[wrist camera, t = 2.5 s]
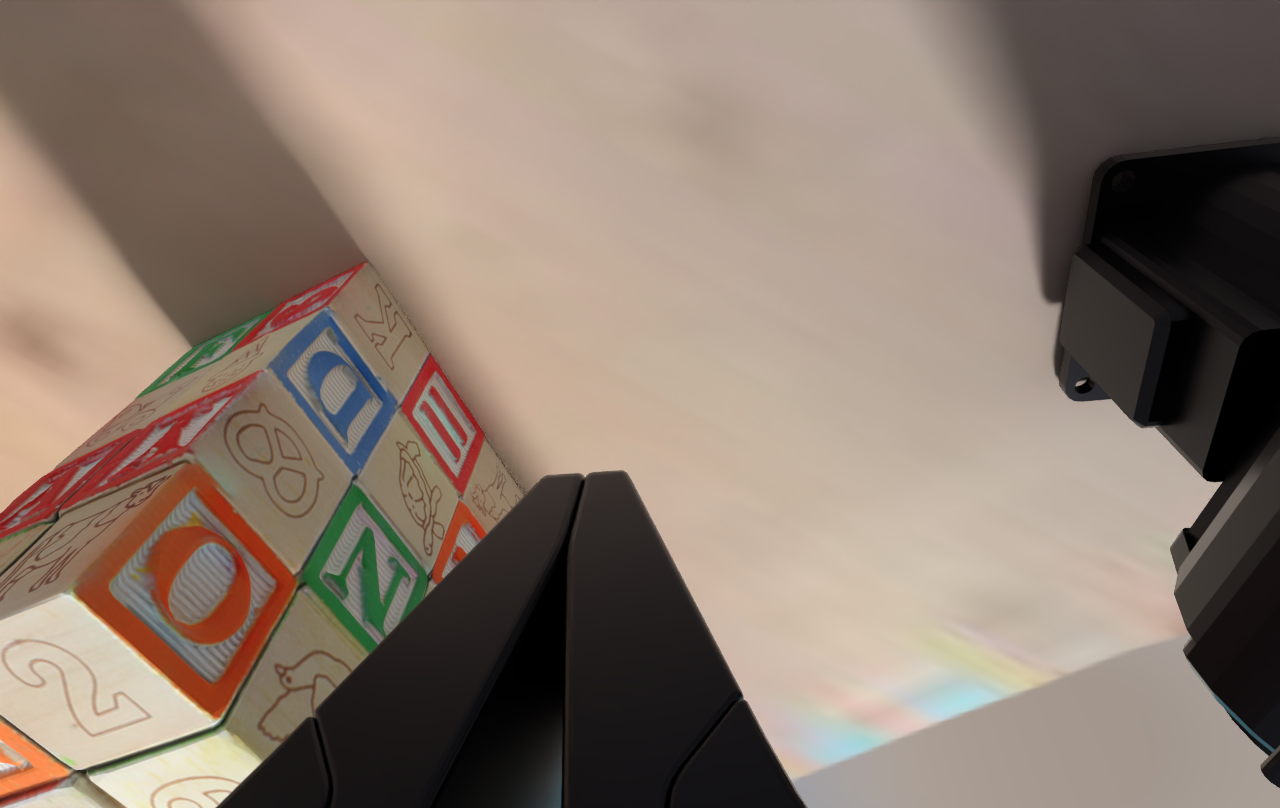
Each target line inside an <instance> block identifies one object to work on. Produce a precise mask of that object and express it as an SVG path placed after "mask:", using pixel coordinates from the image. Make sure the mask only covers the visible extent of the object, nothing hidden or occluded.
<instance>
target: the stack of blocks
mask: <svg viewBox="0 0 1280 808" xmlns="http://www.w3.org/2000/svg"><path fill="white" fill-rule="evenodd" d="M523 497H524V495H523V493H522V492H521V490H520V489H519V487H518V486H517V485H516V483H515V482H514V480H513V479H512V477H511V476H510V474H509V473H508V471H507V470H506V469H505V467H504V466H503V464H502V463H501V461H500V460H499V458H498V457H497V455H496V454H495V452H494V451H493V450H492V448H491V447H490V445H489V444H488V443H487V441H486V440H485V436H484V433H483V431H482V430H481V428H480V427H479V425H478V424H477V422H476V420H475V419H474V417H473V416H472V414H471V413H470V411H469V410H468V409H467V407H466V406H465V404H464V403H463V401H462V400H461V398H460V397H459V395H458V394H457V392H456V391H455V389H454V388H453V386H452V385H451V383H450V382H449V380H448V379H447V378H446V376H445V375H444V373H443V372H442V370H441V369H440V367H439V366H438V364H437V363H436V361H435V360H434V358H433V357H432V355H431V354H430V353H429V352H428V349H427V347H426V345H425V344H424V342H423V341H422V339H421V338H420V336H419V335H418V333H417V332H416V330H415V329H414V327H413V326H412V324H411V323H410V321H409V320H408V318H407V317H406V315H405V314H404V312H403V311H402V309H401V308H400V306H399V305H398V303H397V302H396V300H395V299H394V297H393V296H392V294H391V293H390V291H389V290H388V289H387V287H386V286H385V284H384V283H383V281H382V280H381V278H380V277H379V275H378V274H377V272H376V271H375V269H374V268H373V267H372V266H371V265H370V264H369V263H368V262H365V263H362V264H360V265H358V266H356V267H354V268H352V269H350V270H348V271H346V272H344V273H342V274H339V275H337V276H335V277H333V278H331V279H329V280H327V281H325V282H323V283H321V284H319V285H317V286H315V287H313V288H311V289H309V290H307V291H305V292H303V293H301V294H299V295H297V296H295V297H293V298H291V299H289V300H286V301H284V302H282V303H281V304H280V305H279V306H277V307H276V308H274V309H272V310H270V311H268V312H266V313H264V314H262V315H260V316H258V317H256V318H254V319H251V320H249V321H247V322H245V323H243V324H241V325H239V326H237V327H235V328H233V329H230V330H228V331H226V332H224V333H222V334H220V335H218V336H216V337H214V338H212V339H210V340H208V341H205V342H203V343H201V344H199V345H196V346H195V347H194V348H192V349H191V350H190V351H188V352H187V353H186V354H185V355H183V356H182V357H181V358H180V359H179V360H178V361H177V362H175V363H174V364H173V365H172V366H171V367H169V368H168V369H167V370H166V371H165V372H164V373H163V374H162V375H161V376H160V377H159V378H158V379H156V380H155V381H154V382H153V383H152V384H151V385H150V386H149V387H147V388H146V389H145V390H144V391H143V392H142V393H140V394H139V395H138V396H137V397H136V399H135V400H134V401H133V402H132V403H130V404H129V405H128V406H127V407H126V408H125V409H123V410H122V411H121V412H120V413H119V414H117V415H116V416H115V417H114V418H113V419H112V420H110V421H109V422H108V423H107V424H106V425H104V426H103V427H102V428H101V429H100V430H98V431H97V432H96V433H95V434H94V435H93V436H91V437H90V438H89V439H88V440H87V441H85V442H84V443H83V444H82V445H81V446H79V447H78V448H77V449H76V450H75V451H74V452H72V453H71V454H70V455H69V456H68V457H67V458H65V459H64V460H63V461H62V462H61V463H60V464H58V465H57V466H56V467H55V469H54V470H53V471H51V472H50V473H48V474H47V475H45V476H43V477H42V478H40V479H39V480H38V481H37V482H35V483H34V484H33V485H32V486H31V487H29V488H28V489H27V490H26V491H24V492H23V493H22V494H21V495H20V496H18V497H17V498H16V499H15V500H14V501H13V502H12V503H11V504H10V505H9V506H8V507H7V508H6V509H5V510H4V511H3V512H2V513H1V514H0V808H215V807H217V806H218V805H219V804H220V803H221V802H222V801H223V800H224V799H225V798H226V797H227V796H228V795H229V794H230V793H231V792H232V791H233V790H234V789H235V788H236V787H237V786H238V785H239V784H240V783H241V782H242V781H243V780H244V779H245V778H246V777H247V776H248V775H249V774H250V773H251V772H252V771H253V770H254V769H256V768H257V767H258V766H259V765H260V764H261V763H262V762H263V761H264V760H265V759H266V758H267V757H268V756H269V755H270V754H271V753H272V752H273V751H274V750H275V749H276V748H277V747H278V746H279V745H280V744H281V743H282V742H283V741H284V740H285V739H286V738H287V737H288V736H289V735H290V734H291V733H292V732H293V731H294V730H295V729H296V728H297V727H298V725H299V724H300V723H301V722H302V721H303V720H304V719H305V718H307V717H313V718H315V716H314V711H315V709H316V708H317V707H318V706H319V705H320V704H321V703H322V702H323V701H324V699H325V698H326V697H327V696H328V695H329V694H330V693H331V692H332V691H333V690H334V689H335V688H336V687H337V686H338V685H339V684H340V683H341V682H342V681H343V680H344V679H345V678H346V677H347V676H348V675H349V674H350V673H351V672H352V671H353V670H354V669H355V668H356V667H357V666H358V665H359V664H360V663H361V662H362V661H363V660H364V659H365V658H366V657H367V656H368V655H369V654H370V653H371V652H372V651H373V650H374V649H375V648H376V647H377V646H378V645H379V643H380V642H381V641H382V640H383V639H384V638H385V637H386V636H387V635H388V634H389V633H390V632H391V631H392V630H393V629H394V628H395V627H396V626H397V625H398V624H399V623H400V622H401V621H402V620H403V619H404V618H405V617H406V616H407V615H408V614H409V613H410V612H411V611H412V610H413V609H414V608H415V607H416V606H417V605H418V604H419V603H420V602H421V601H422V600H423V599H424V598H425V597H426V596H427V595H428V594H429V593H430V592H431V591H432V590H433V589H434V587H435V586H436V585H437V584H438V583H439V582H440V581H441V580H442V579H443V578H444V577H445V576H446V575H447V574H448V573H449V572H450V571H451V570H452V569H453V568H454V567H455V566H456V565H457V564H458V563H459V562H460V561H461V560H462V559H463V558H464V557H465V556H466V555H467V554H468V553H469V552H470V551H471V550H472V549H473V548H474V547H475V546H476V545H477V544H478V543H479V542H480V541H481V540H482V539H483V538H484V537H485V536H486V535H487V534H488V533H489V531H490V530H491V529H492V528H493V527H494V526H495V525H496V524H497V523H498V522H499V521H500V520H501V519H502V518H503V517H504V516H505V515H506V514H507V513H508V512H509V511H510V510H511V509H512V508H513V507H514V506H515V505H516V504H517V503H518V502H519V501H520V500H521V499H522V498H523Z"/></svg>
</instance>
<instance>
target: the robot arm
mask: <svg viewBox="0 0 1280 808" xmlns="http://www.w3.org/2000/svg"><path fill="white" fill-rule="evenodd" d="M1125 170H1126V173H1127V176H1126V178H1125V180H1124V182H1123V183H1121V184H1120V185H1119V186H1116V187H1114V188H1112V181H1113V179H1114V177H1115V176H1116V175H1117V174H1118V173H1119V172H1122V171H1125ZM1059 342H1060V343H1061V344H1062V345H1063V347H1064V354H1063V360H1062V365H1061V371H1060V377H1059V386H1060V387H1061V389H1062V390H1063V392H1064V393H1065V394H1066V395H1067V396H1068V398H1070V399H1072V400H1074V401H1093V400H1105V399H1112V400H1113V401H1114V402H1115V403H1116V404H1117V405H1118V407H1119V408H1120V409H1121V410H1122V411H1123V412H1124V413H1125V414H1126V415H1127V416H1128V417H1129V419H1130V420H1132V421H1133V422H1134V423H1135V424H1136V425H1137V426H1139V427H1140V428H1151V427H1155V428H1156V429H1157V430H1158V431H1159V432H1160V433H1161V434H1162V435H1163V436H1164V437H1165V438H1166V439H1167V440H1168V441H1169V442H1170V443H1171V444H1172V445H1173V447H1174V448H1175V449H1176V450H1177V451H1178V452H1179V453H1180V454H1181V455H1182V456H1183V457H1184V458H1185V459H1186V460H1187V461H1188V462H1189V463H1190V464H1191V465H1192V466H1193V468H1194V469H1195V470H1196V471H1197V472H1198V473H1199V474H1200V475H1201V476H1202V477H1203V478H1204V479H1205V480H1206V481H1210V482H1222V484H1221V485H1220V487H1219V488H1218V489H1217V491H1216V492H1215V494H1214V495H1213V497H1212V498H1211V499H1210V501H1209V502H1208V504H1207V505H1206V507H1205V508H1204V509H1203V511H1202V512H1201V514H1200V515H1199V517H1198V518H1197V519H1196V521H1195V522H1194V524H1193V525H1192V527H1191V528H1184V529H1183V530H1182V531H1181V533H1180V534H1179V535H1178V537H1177V538H1176V540H1175V541H1174V543H1173V544H1172V546H1171V547H1170V551H1171V554H1172V558H1173V561H1174V564H1175V568H1176V571H1177V574H1178V576H1177V581H1176V586H1175V591H1174V595H1175V598H1176V601H1177V603H1178V606H1179V609H1180V612H1181V614H1182V617H1183V620H1184V623H1185V626H1186V628H1187V631H1188V632H1189V634H1190V635H1191V638H1190V639H1189V640H1188V642H1187V643H1186V644H1185V646H1184V649H1183V651H1184V654H1185V656H1186V658H1187V660H1188V662H1189V664H1190V666H1191V668H1192V669H1193V670H1194V672H1195V673H1196V674H1197V675H1198V677H1199V678H1200V679H1201V681H1202V682H1203V683H1204V684H1205V686H1206V687H1207V689H1208V690H1209V691H1210V692H1211V694H1212V695H1213V696H1214V698H1215V699H1216V700H1217V701H1218V702H1219V703H1220V704H1221V705H1222V706H1223V707H1224V708H1225V710H1226V711H1227V713H1228V714H1229V716H1230V717H1231V718H1232V720H1233V721H1234V722H1235V723H1236V724H1237V725H1238V726H1239V728H1240V729H1241V730H1242V731H1243V732H1244V733H1245V734H1246V735H1247V736H1248V737H1249V738H1250V739H1251V740H1252V741H1253V742H1254V744H1256V745H1257V746H1258V747H1259V748H1260V749H1261V750H1263V751H1264V752H1265V753H1266V754H1267V755H1268V756H1269V757H1268V758H1267V759H1266V760H1265V761H1264V762H1263V763H1262V765H1261V771H1262V773H1263V774H1264V776H1265V777H1266V778H1267V779H1268V780H1269V781H1270V782H1271V783H1273V784H1275V785H1276V786H1277V787H1279V788H1280V137H1275V138H1266V139H1257V140H1249V141H1240V142H1231V143H1222V144H1214V145H1205V146H1196V147H1188V148H1179V149H1170V150H1161V151H1153V152H1144V153H1135V154H1126V155H1119V156H1115V157H1112V158H1109V159H1108V160H1106V161H1105V162H1104V163H1102V164H1101V165H1100V167H1099V168H1098V169H1097V170H1096V173H1095V175H1094V178H1093V182H1092V188H1091V194H1090V200H1089V206H1088V212H1087V218H1086V224H1085V230H1084V235H1083V241H1082V245H1081V246H1080V247H1079V248H1078V249H1077V250H1076V252H1075V253H1074V254H1073V256H1072V262H1071V268H1070V274H1069V280H1068V286H1067V292H1066V298H1065V304H1064V311H1063V317H1062V323H1061V329H1060V335H1059ZM1085 377H1088V379H1087V381H1086V382H1085V383H1084V384H1082V385H1080V386H1075V385H1076V383H1077V382H1078V381H1079V380H1080V379H1082V378H1085ZM314 716H315V718H313V717H307V718H305V719H304V720H303V721H302V722H301V723H300V724H299V725H298V727H297V728H296V729H295V730H294V731H293V732H292V733H291V734H290V735H289V736H288V737H287V738H286V739H285V740H284V741H283V742H282V743H281V744H280V745H279V746H278V747H277V748H276V749H275V750H274V751H273V752H272V753H271V754H270V755H269V756H268V757H267V758H266V759H265V760H264V761H263V762H262V763H261V764H260V765H259V766H258V767H257V768H256V769H254V770H253V771H252V772H251V773H250V774H249V775H248V776H247V777H246V778H245V779H244V780H243V781H242V782H241V783H240V784H239V785H238V786H237V787H236V788H235V789H234V790H233V791H232V792H231V793H230V794H229V795H228V796H227V797H226V798H225V799H224V800H223V801H222V802H221V803H220V804H219V805H218V806H217V807H215V808H808V807H807V806H806V804H805V803H804V802H803V800H802V799H801V797H800V795H799V794H798V792H797V791H796V789H795V787H794V785H793V784H792V782H791V780H790V778H789V777H788V775H787V773H786V771H785V770H784V768H783V766H782V764H781V763H780V761H779V759H778V757H777V756H776V754H775V752H774V750H773V749H772V747H771V745H770V743H769V742H768V740H767V738H766V736H765V734H764V732H763V731H762V729H761V727H760V725H759V723H758V721H757V719H756V717H755V715H754V713H753V711H752V710H751V708H750V706H749V704H748V702H747V701H745V700H744V699H743V694H742V691H741V689H740V688H739V686H738V684H737V682H736V680H735V678H734V676H733V674H732V672H731V670H730V668H729V666H728V665H727V663H726V661H725V659H724V657H723V655H722V653H721V651H720V649H719V647H718V645H717V643H716V642H715V640H714V638H713V636H712V634H711V632H710V630H709V628H708V626H707V624H706V622H705V620H704V619H703V617H702V615H701V613H700V611H699V609H698V607H697V605H696V603H695V601H694V599H693V597H692V595H691V594H690V592H689V590H688V588H687V586H686V584H685V582H684V580H683V578H682V576H681V574H680V572H679V571H678V569H677V567H676V565H675V563H674V561H673V559H672V557H671V555H670V553H669V551H668V549H667V548H666V546H665V544H664V542H663V540H662V538H661V536H660V534H659V532H658V530H657V528H656V526H655V524H654V523H653V521H652V519H651V517H650V515H649V513H648V511H647V509H646V507H645V505H644V503H643V501H642V500H641V498H640V496H639V494H638V492H637V490H636V488H635V486H634V484H633V482H632V480H631V478H630V477H629V475H628V474H627V473H626V472H625V471H622V470H619V471H604V472H592V473H589V474H588V475H587V476H586V478H585V477H584V476H583V475H582V474H580V473H574V474H558V475H547V476H545V477H543V478H542V479H541V480H540V481H539V482H538V483H537V484H536V485H535V486H534V487H533V488H532V489H531V490H530V491H529V492H528V493H527V494H526V495H525V496H524V497H523V498H522V499H521V500H520V501H519V502H518V503H517V504H516V505H515V506H514V507H513V508H512V509H511V510H510V511H509V512H508V513H507V514H506V515H505V516H504V517H503V518H502V519H501V520H500V521H499V522H498V523H497V524H496V525H495V526H494V527H493V528H492V529H491V530H490V531H489V533H488V534H487V535H486V536H485V537H484V538H483V539H482V540H481V541H480V542H479V543H478V544H477V545H476V546H475V547H474V548H473V549H472V550H471V551H470V552H469V553H468V554H467V555H466V556H465V557H464V558H463V559H462V560H461V561H460V562H459V563H458V564H457V565H456V566H455V567H454V568H453V569H452V570H451V571H450V572H449V573H448V574H447V575H446V576H445V577H444V578H443V579H442V580H441V581H440V582H439V583H438V584H437V585H436V586H435V587H434V589H433V590H432V591H431V592H430V593H429V594H428V595H427V596H426V597H425V598H424V599H423V600H422V601H421V602H420V603H419V604H418V605H417V606H416V607H415V608H414V609H413V610H412V611H411V612H410V613H409V614H408V615H407V616H406V617H405V618H404V619H403V620H402V621H401V622H400V623H399V624H398V625H397V626H396V627H395V628H394V629H393V630H392V631H391V632H390V633H389V634H388V635H387V636H386V637H385V638H384V639H383V640H382V641H381V642H380V643H379V645H378V646H377V647H376V648H375V649H374V650H373V651H372V652H371V653H370V654H369V655H368V656H367V657H366V658H365V659H364V660H363V661H362V662H361V663H360V664H359V665H358V666H357V667H356V668H355V669H354V670H353V671H352V672H351V673H350V674H349V675H348V676H347V677H346V678H345V679H344V680H343V681H342V682H341V683H340V684H339V685H338V686H337V687H336V688H335V689H334V690H333V691H332V692H331V693H330V694H329V695H328V696H327V697H326V698H325V699H324V701H323V702H322V703H321V704H320V705H319V706H318V707H317V708H316V709H315V711H314Z"/></svg>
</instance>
